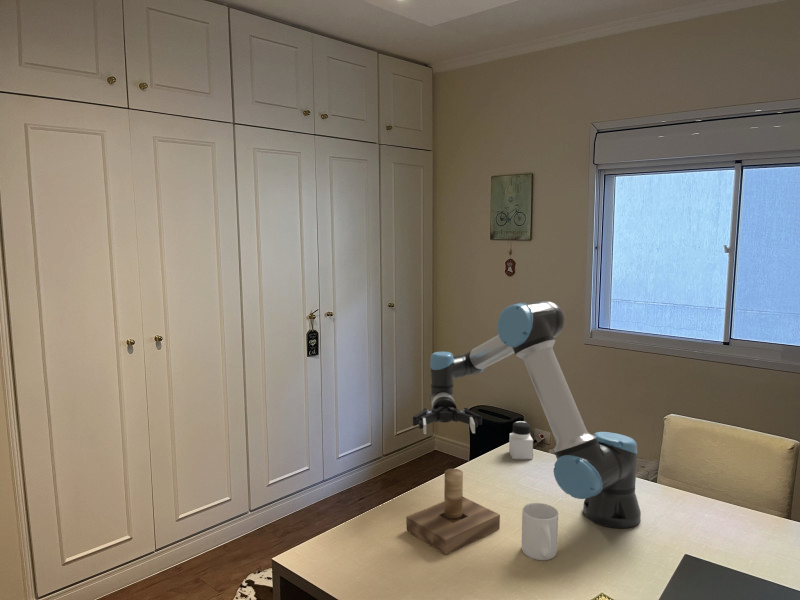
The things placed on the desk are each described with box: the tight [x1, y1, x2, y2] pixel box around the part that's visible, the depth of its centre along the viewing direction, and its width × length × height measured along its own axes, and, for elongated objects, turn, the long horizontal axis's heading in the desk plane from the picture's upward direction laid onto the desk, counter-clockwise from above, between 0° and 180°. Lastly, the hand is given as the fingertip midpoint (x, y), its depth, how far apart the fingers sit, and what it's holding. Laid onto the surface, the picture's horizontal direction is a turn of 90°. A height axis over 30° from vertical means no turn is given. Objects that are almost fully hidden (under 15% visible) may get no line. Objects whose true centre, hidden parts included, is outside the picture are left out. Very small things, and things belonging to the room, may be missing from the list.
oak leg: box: [443, 468, 464, 523], centre depth 154 cm, size 5×5×16 cm
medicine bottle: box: [508, 420, 534, 460], centre depth 206 cm, size 7×7×12 cm
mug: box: [521, 502, 559, 561], centre depth 142 cm, size 9×12×11 cm
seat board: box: [405, 496, 501, 556], centre depth 155 cm, size 15×20×4 cm
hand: (449, 429), depth 163 cm, fingers open, 13 cm apart
